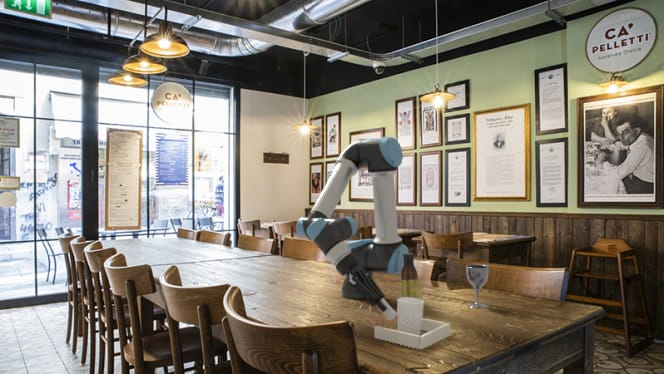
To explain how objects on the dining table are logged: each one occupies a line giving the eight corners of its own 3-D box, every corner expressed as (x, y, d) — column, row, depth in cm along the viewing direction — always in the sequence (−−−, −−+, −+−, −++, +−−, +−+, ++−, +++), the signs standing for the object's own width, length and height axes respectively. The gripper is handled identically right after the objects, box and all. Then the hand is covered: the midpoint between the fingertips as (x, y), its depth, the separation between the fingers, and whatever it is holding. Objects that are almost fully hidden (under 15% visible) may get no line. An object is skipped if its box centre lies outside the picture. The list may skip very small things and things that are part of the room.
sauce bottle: (420, 305, 169) (420, 252, 170) (416, 309, 164) (416, 254, 164) (403, 303, 172) (403, 252, 172) (399, 307, 166) (399, 253, 167)
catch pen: (374, 338, 130) (374, 326, 130) (405, 325, 143) (405, 314, 143) (421, 350, 120) (421, 337, 120) (450, 335, 133) (450, 323, 133)
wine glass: (463, 303, 172) (463, 264, 172) (483, 303, 173) (483, 264, 173) (471, 309, 164) (471, 268, 164) (492, 308, 165) (492, 267, 165)
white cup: (422, 339, 130) (424, 304, 130) (395, 336, 131) (397, 302, 131) (421, 330, 138) (423, 298, 138) (396, 328, 139) (397, 296, 139)
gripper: (344, 264, 150) (392, 320, 142) (327, 270, 138) (378, 331, 130) (359, 249, 148) (408, 305, 140) (342, 253, 136) (395, 315, 128)
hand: (393, 318), depth 135 cm, fingers closed
